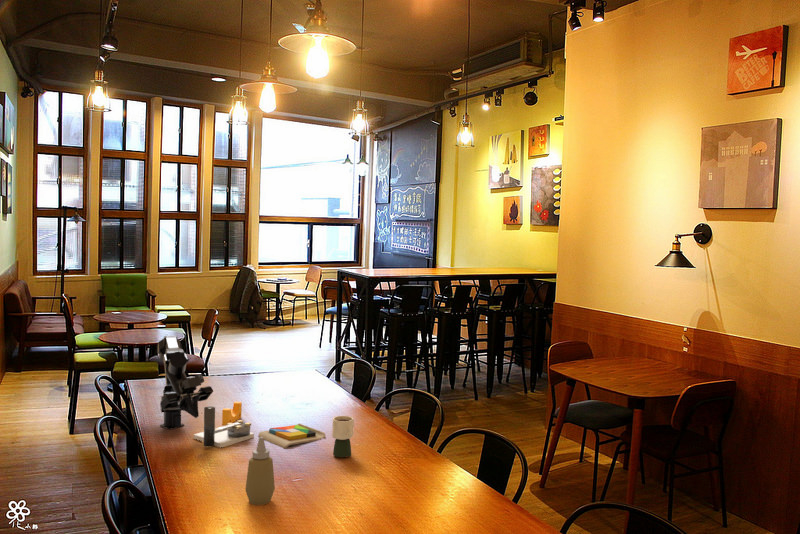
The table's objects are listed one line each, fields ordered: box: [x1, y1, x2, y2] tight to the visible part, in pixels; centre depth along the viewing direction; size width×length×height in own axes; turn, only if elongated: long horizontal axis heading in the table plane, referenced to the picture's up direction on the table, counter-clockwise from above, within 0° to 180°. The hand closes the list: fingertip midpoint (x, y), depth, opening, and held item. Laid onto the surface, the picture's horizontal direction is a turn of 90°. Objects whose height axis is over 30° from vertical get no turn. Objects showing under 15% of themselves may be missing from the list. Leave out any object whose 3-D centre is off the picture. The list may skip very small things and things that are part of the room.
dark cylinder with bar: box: [203, 405, 252, 448], centre depth 221 cm, size 8×19×13 cm, turn 144°
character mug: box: [331, 415, 355, 459], centre depth 211 cm, size 11×7×13 cm, turn 33°
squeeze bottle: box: [245, 437, 276, 506], centre depth 173 cm, size 8×8×18 cm
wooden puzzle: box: [258, 423, 326, 449], centre depth 229 cm, size 18×19×4 cm
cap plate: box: [193, 426, 255, 449], centre depth 225 cm, size 15×15×2 cm
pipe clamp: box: [221, 401, 243, 426], centre depth 245 cm, size 12×4×6 cm, turn 171°
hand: (197, 417), depth 219 cm, fingers closed
